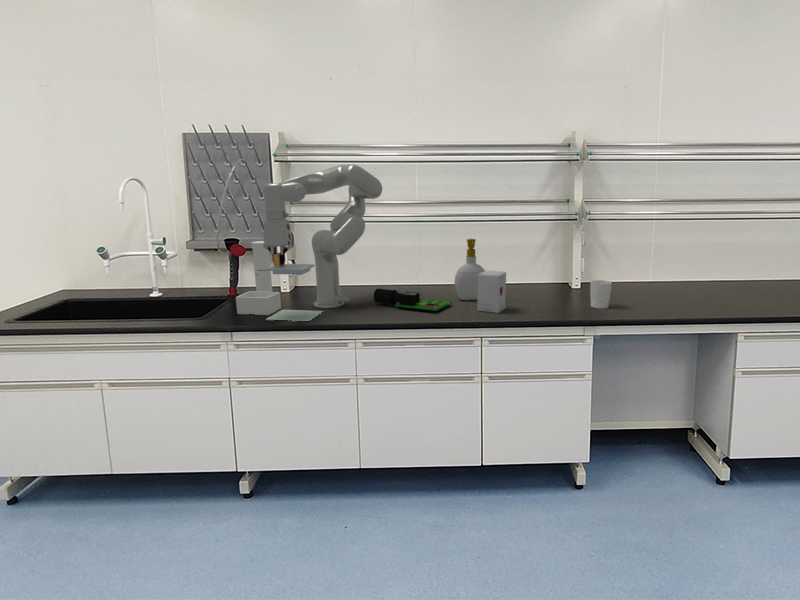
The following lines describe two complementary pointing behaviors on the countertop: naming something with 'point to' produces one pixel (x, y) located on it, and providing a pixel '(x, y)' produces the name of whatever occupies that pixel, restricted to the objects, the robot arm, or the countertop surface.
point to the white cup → (600, 293)
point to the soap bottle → (468, 275)
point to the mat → (294, 315)
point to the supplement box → (491, 291)
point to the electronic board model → (407, 300)
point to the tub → (258, 303)
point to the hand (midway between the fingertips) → (279, 263)
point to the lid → (289, 267)
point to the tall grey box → (261, 267)
